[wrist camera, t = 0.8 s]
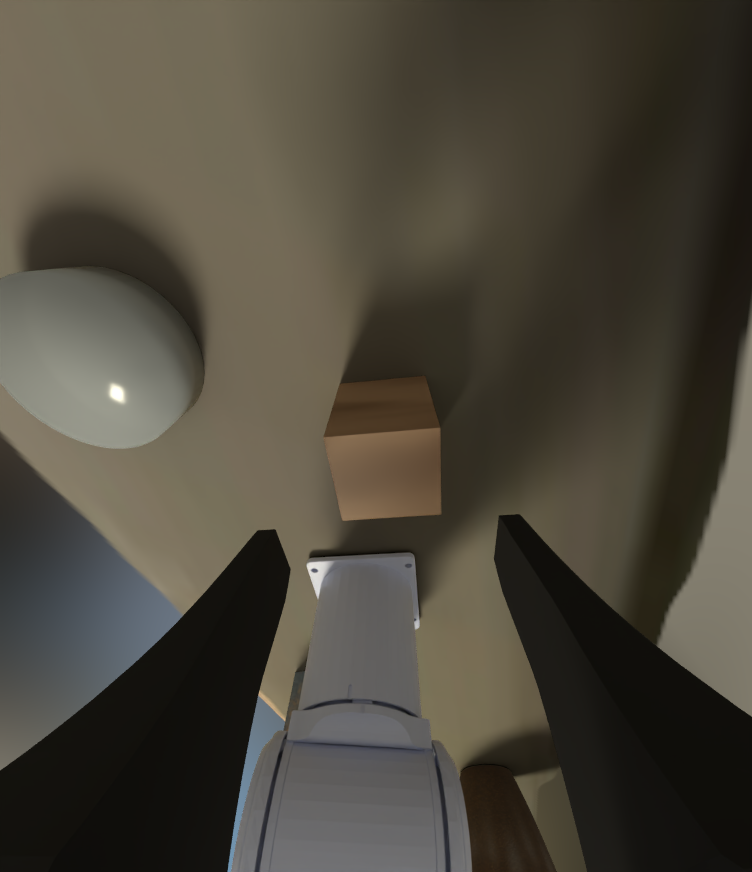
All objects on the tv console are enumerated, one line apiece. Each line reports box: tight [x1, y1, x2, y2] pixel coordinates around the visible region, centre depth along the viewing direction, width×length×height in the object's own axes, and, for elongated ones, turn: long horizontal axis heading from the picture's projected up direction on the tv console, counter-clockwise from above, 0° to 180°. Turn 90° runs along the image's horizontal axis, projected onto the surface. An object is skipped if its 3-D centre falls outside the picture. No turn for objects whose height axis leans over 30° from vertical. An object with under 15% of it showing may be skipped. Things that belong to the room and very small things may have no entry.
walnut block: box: [324, 376, 441, 521], centre depth 16 cm, size 4×4×6 cm
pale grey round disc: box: [0, 266, 204, 449], centre depth 16 cm, size 8×8×3 cm
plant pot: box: [460, 765, 557, 872], centre depth 42 cm, size 15×15×16 cm
